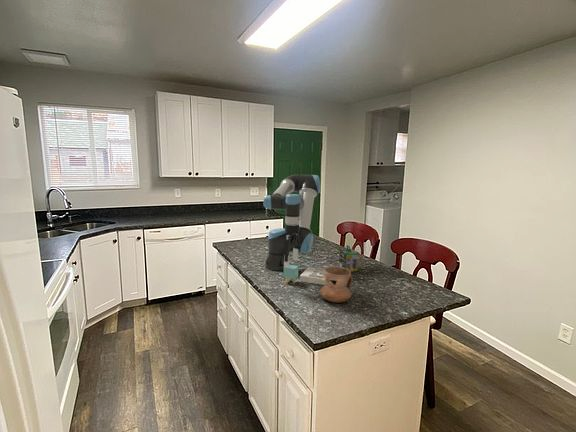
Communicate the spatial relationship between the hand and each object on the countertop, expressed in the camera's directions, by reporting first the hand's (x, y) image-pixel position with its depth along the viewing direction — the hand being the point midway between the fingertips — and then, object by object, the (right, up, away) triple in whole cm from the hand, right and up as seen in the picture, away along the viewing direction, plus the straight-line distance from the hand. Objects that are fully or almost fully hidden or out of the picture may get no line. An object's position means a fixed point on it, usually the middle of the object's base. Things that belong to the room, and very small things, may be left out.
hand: (291, 263), depth 163 cm
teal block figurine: (0, -10, +2) cm, 10 cm away
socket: (+17, -9, +7) cm, 21 cm away
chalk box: (+35, -7, +24) cm, 43 cm away
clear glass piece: (+22, -7, +5) cm, 24 cm away
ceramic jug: (+21, -14, -17) cm, 31 cm away
